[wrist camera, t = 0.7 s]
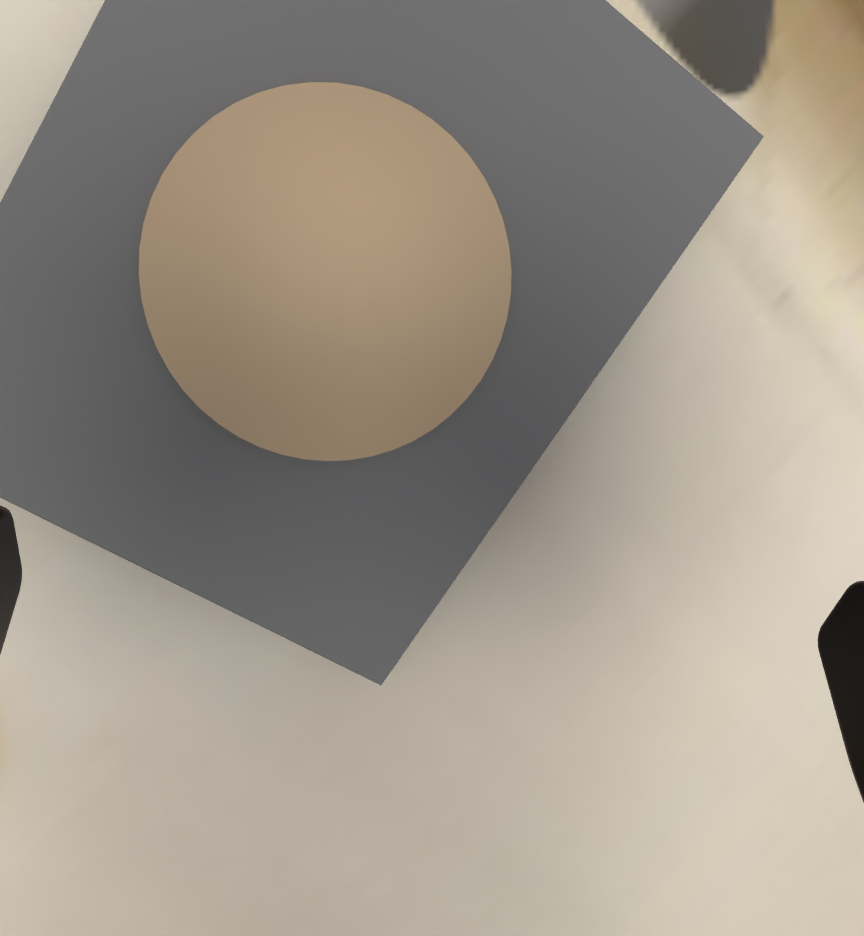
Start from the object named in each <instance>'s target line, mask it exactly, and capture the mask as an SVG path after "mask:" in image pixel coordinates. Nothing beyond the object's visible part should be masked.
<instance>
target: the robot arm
mask: <svg viewBox="0 0 864 936" xmlns="http://www.w3.org/2000/svg"><path fill="white" fill-rule="evenodd" d="M21 580H22V567H21V560H20V555H19V549H18V544H17V538H16V532H15V527H14V521H13V517H12V515H11V513H10V511H9V510H8V509H7V508H5V507H2V506H0V654H1V651H2V647H3V644H4V641H5V638H6V634H7V631H8V628H9V624H10V621H11V618H12V614H13V611H14V608H15V605H16V601H17V598H18V595H19V591H20V586H21ZM818 649H819V653H820V657H821V660H822V664H823V668H824V671H825V675H826V679H827V682H828V686H829V689H830V693H831V697H832V700H833V704H834V708H835V711H836V715H837V719H838V722H839V726H840V730H841V733H842V737H843V741H844V744H845V748H846V752H847V755H848V758H849V761H850V765H851V768H852V771H853V774H854V777H855V780H856V783H857V786H858V788H859V791H860V794H861V797H862V799H863V802H864V581H858V582H855V583H854V584H852V585H850V586H849V587H848V588H847V590H846V591H845V593H844V594H843V595H842V597H841V598H840V600H839V601H838V603H837V604H836V606H835V607H834V609H833V610H832V611H831V613H830V614H829V616H828V617H827V619H826V620H825V622H824V623H823V625H822V626H821V628H820V631H819V634H818Z"/></svg>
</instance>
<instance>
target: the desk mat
mask: <svg viewBox="0 0 864 936" xmlns="http://www.w3.org/2000/svg"><path fill="white" fill-rule="evenodd" d="M763 137H764V136H763V135H761V134H760V133H759V132H758V131H757V130H756V129H754V128H753V127H752V126H751V125H750V124H749V123H747V122H746V121H745V120H744V119H743V118H742V117H740V116H739V115H738V114H737V113H736V112H735V111H733V110H732V109H731V108H730V107H729V106H728V105H726V104H725V103H724V102H723V101H722V100H721V99H719V98H718V97H717V96H716V95H715V94H714V93H712V92H711V91H710V90H709V89H708V88H707V87H705V86H704V85H703V84H702V83H701V82H700V81H699V80H697V79H696V78H695V77H694V76H693V75H692V74H690V73H689V72H688V71H687V70H686V69H685V68H683V67H682V66H681V65H680V64H679V63H678V62H676V61H675V60H674V59H673V58H672V57H671V56H669V55H668V54H667V53H666V52H665V51H664V50H662V49H661V48H660V47H659V46H658V45H657V44H655V43H654V42H653V41H652V40H651V39H650V38H648V37H647V36H646V35H645V34H644V33H643V32H642V31H640V30H639V29H638V28H637V27H636V26H635V25H633V24H632V23H631V22H630V21H629V20H628V19H626V18H625V17H624V16H623V15H622V14H621V13H619V12H618V11H617V10H616V9H615V8H614V7H612V6H611V5H610V4H609V3H608V2H607V1H605V0H105V2H104V4H103V6H102V8H101V9H100V11H99V13H98V15H97V17H96V19H95V21H94V23H93V25H92V27H91V29H90V31H89V33H88V35H87V37H86V38H85V40H84V42H83V44H82V46H81V48H80V50H79V52H78V54H77V56H76V58H75V60H74V62H73V64H72V66H71V67H70V69H69V71H68V73H67V75H66V77H65V79H64V81H63V83H62V85H61V87H60V89H59V91H58V93H57V95H56V96H55V98H54V100H53V102H52V104H51V106H50V108H49V110H48V112H47V114H46V116H45V118H44V120H43V122H42V124H41V125H40V127H39V129H38V131H37V133H36V135H35V137H34V139H33V141H32V143H31V145H30V147H29V149H28V151H27V153H26V155H25V156H24V158H23V160H22V162H21V164H20V166H19V168H18V170H17V172H16V174H15V176H14V178H13V180H12V182H11V184H10V185H9V187H8V189H7V191H6V193H5V195H4V197H3V199H2V201H1V203H0V498H2V499H4V500H6V501H8V502H10V503H12V504H14V505H17V506H19V507H21V508H23V509H25V510H27V511H29V512H31V513H33V514H35V515H37V516H39V517H41V518H43V519H45V520H47V521H49V522H51V523H53V524H55V525H57V526H59V527H61V528H63V529H65V530H67V531H69V532H71V533H73V534H75V535H77V536H79V537H81V538H83V539H85V540H87V541H90V542H92V543H94V544H96V545H98V546H100V547H102V548H104V549H106V550H108V551H110V552H112V553H114V554H116V555H118V556H120V557H122V558H124V559H126V560H128V561H130V562H132V563H134V564H136V565H138V566H140V567H142V568H144V569H146V570H148V571H150V572H152V573H154V574H156V575H158V576H160V577H163V578H165V579H167V580H169V581H171V582H173V583H175V584H177V585H179V586H181V587H183V588H185V589H187V590H189V591H191V592H193V593H195V594H197V595H199V596H201V597H203V598H205V599H207V600H209V601H211V602H213V603H215V604H217V605H219V606H221V607H223V608H225V609H227V610H229V611H231V612H233V613H236V614H238V615H240V616H242V617H244V618H246V619H248V620H250V621H252V622H254V623H256V624H258V625H260V626H262V627H264V628H266V629H268V630H270V631H272V632H274V633H276V634H278V635H280V636H282V637H284V638H286V639H288V640H290V641H292V642H294V643H296V644H298V645H300V646H302V647H304V648H306V649H309V650H311V651H313V652H315V653H317V654H319V655H321V656H323V657H325V658H327V659H329V660H331V661H333V662H335V663H337V664H339V665H341V666H343V667H345V668H347V669H349V670H351V671H353V672H355V673H357V674H359V675H361V676H363V677H365V678H367V679H369V680H371V681H373V682H375V683H377V684H379V685H382V683H383V682H384V680H385V679H386V677H387V676H388V675H389V673H390V672H391V670H392V669H393V667H394V666H395V665H396V663H397V662H398V660H399V659H400V657H401V656H402V655H403V653H404V652H405V650H406V649H407V647H408V646H409V644H410V643H411V642H412V640H413V639H414V637H415V636H416V634H417V633H418V632H419V630H420V629H421V627H422V626H423V624H424V623H425V622H426V620H427V619H428V617H429V616H430V614H431V613H432V611H433V610H434V609H435V607H436V606H437V604H438V603H439V601H440V600H441V599H442V597H443V596H444V594H445V593H446V591H447V590H448V589H449V587H450V586H451V584H452V583H453V581H454V580H455V579H456V577H457V576H458V574H459V573H460V571H461V570H462V568H463V567H464V566H465V564H466V563H467V561H468V560H469V558H470V557H471V556H472V554H473V553H474V551H475V550H476V548H477V547H478V546H479V544H480V543H481V541H482V540H483V538H484V537H485V535H486V534H487V533H488V531H489V530H490V528H491V527H492V525H493V524H494V523H495V521H496V520H497V518H498V517H499V515H500V514H501V513H502V511H503V510H504V508H505V507H506V505H507V504H508V502H509V501H510V500H511V498H512V497H513V495H514V494H515V492H516V491H517V490H518V488H519V487H520V485H521V484H522V482H523V481H524V480H525V478H526V477H527V475H528V474H529V472H530V471H531V469H532V468H533V467H534V465H535V464H536V462H537V461H538V459H539V458H540V457H541V455H542V454H543V452H544V451H545V449H546V448H547V447H548V445H549V444H550V442H551V441H552V439H553V438H554V436H555V435H556V434H557V432H558V431H559V429H560V428H561V426H562V425H563V424H564V422H565V421H566V419H567V418H568V416H569V415H570V414H571V412H572V411H573V409H574V408H575V406H576V405H577V404H578V402H579V401H580V399H581V398H582V396H583V395H584V393H585V392H586V391H587V389H588V388H589V386H590V385H591V383H592V382H593V381H594V379H595V378H596V376H597V375H598V373H599V372H600V371H601V369H602V368H603V366H604V365H605V363H606V362H607V360H608V359H609V358H610V356H611V355H612V353H613V352H614V350H615V349H616V348H617V346H618V345H619V343H620V342H621V340H622V339H623V338H624V336H625V335H626V333H627V332H628V330H629V329H630V327H631V326H632V325H633V323H634V322H635V320H636V319H637V317H638V316H639V315H640V313H641V312H642V310H643V309H644V307H645V306H646V305H647V303H648V302H649V300H650V299H651V297H652V296H653V294H654V293H655V292H656V290H657V289H658V287H659V286H660V284H661V283H662V282H663V280H664V279H665V277H666V276H667V274H668V273H669V272H670V270H671V269H672V267H673V266H674V264H675V263H676V261H677V260H678V259H679V257H680V256H681V254H682V253H683V251H684V250H685V249H686V247H687V246H688V244H689V243H690V241H691V240H692V239H693V237H694V236H695V234H696V233H697V231H698V230H699V228H700V227H701V226H702V224H703V223H704V221H705V220H706V218H707V217H708V216H709V214H710V213H711V211H712V210H713V208H714V207H715V206H716V204H717V203H718V201H719V200H720V198H721V197H722V196H723V194H724V193H725V191H726V190H727V188H728V187H729V185H730V184H731V183H732V181H733V180H734V178H735V177H736V175H737V174H738V173H739V171H740V170H741V168H742V167H743V165H744V164H745V163H746V161H747V160H748V158H749V157H750V155H751V154H752V152H753V151H754V150H755V148H756V147H757V145H758V144H759V142H760V141H761V140H762V138H763Z"/></svg>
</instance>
